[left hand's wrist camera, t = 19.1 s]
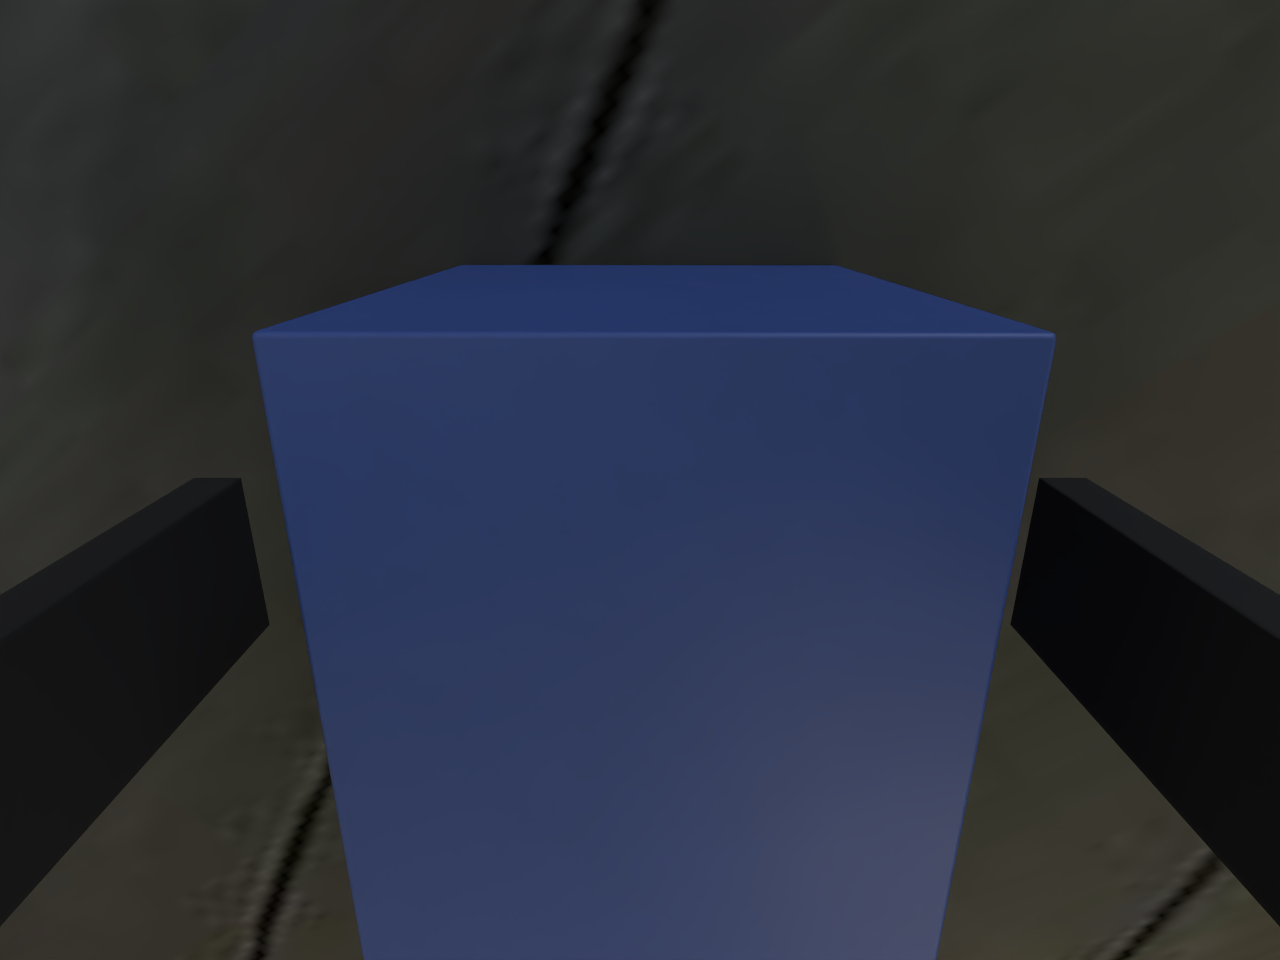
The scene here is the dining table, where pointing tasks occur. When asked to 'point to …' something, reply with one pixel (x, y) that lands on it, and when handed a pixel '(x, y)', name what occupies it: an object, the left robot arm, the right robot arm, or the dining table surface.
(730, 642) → the brick
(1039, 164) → the dining table surface
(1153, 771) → the left robot arm
